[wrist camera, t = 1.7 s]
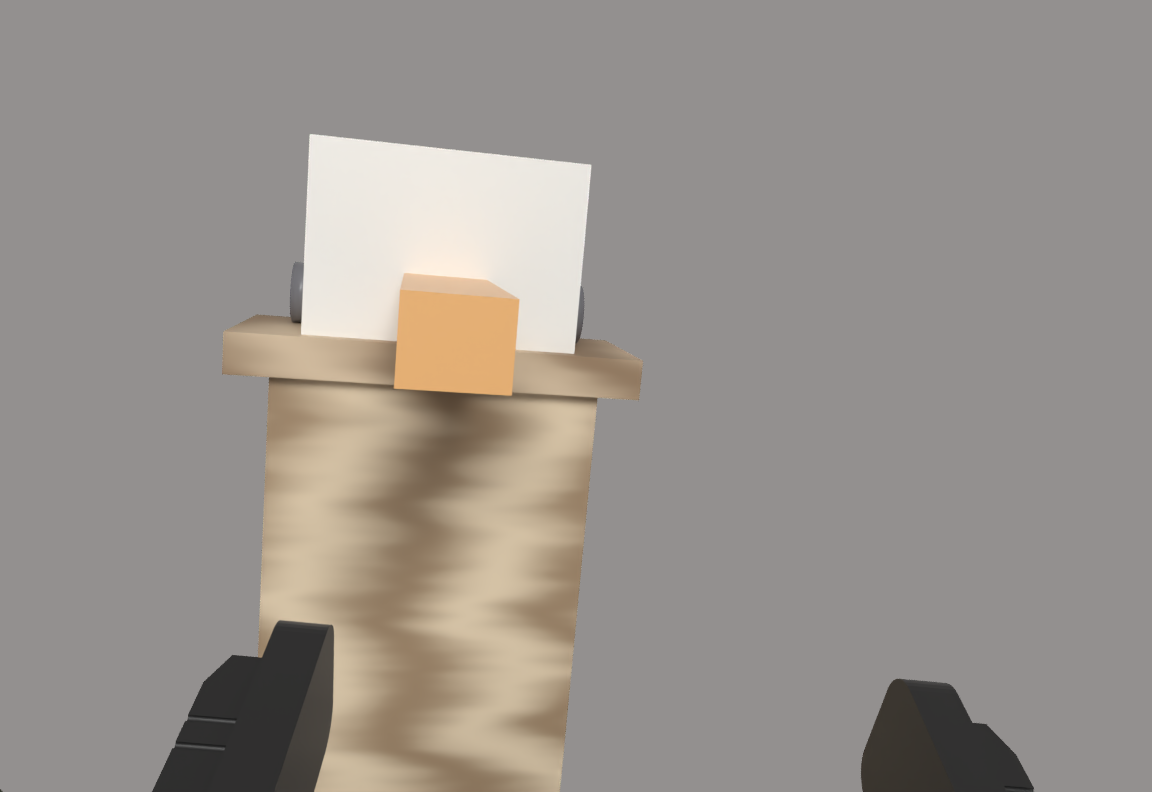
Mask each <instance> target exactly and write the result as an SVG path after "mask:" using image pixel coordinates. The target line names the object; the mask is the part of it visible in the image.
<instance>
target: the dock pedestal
mask: <svg viewBox="0 0 1152 792" xmlns="http://www.w3.org/2000/svg"><path fill="white" fill-rule="evenodd" d="M396 347H397V341H386V340H372V339H358V338H344V337H330V336H316V335H302V334H301V323H297V322H292V321H291V317H282V316H267V315H255V316H253V317H251V318H249V319H247V320H245V321H243V322H241V323H239V324H238V325H235V326H234V327H231V328H229V329H227V330H225V331H224V334H223V366H222V367H223V368H222V374H228V375H245V376H260V377H269V393H268V418H267V444H266V445H267V446H266V469H265V494H264V495H265V496H264V519H263V520H264V521H263V547H262V570H261V571H262V572H261V596H260V621H259V648H258V657H259V658H262V656H263V653H264V651H265V649H266V646H267V644H268V641H269V639H270V636H271V634H272V631H273V629H274V627H275V625H276V623H277V622H278V621H279V620H285V621H295V622H306V623H317V624H328V625H333V628H334V679H333V712H332V721H331V728H330V733H329V739H328V743H327V748H326V752H325V755H324V759H323V762H322V766H321V769H320V773H319V776H318V780H317V783H316V787H315V790H314V792H560V784H561V774H562V763H563V752H564V742H565V732H566V722H567V710H568V700H569V690H570V679H571V669H572V658H573V648H574V638H575V627H576V617H577V606H578V595H579V585H580V575H581V564H582V554H583V543H584V533H585V523H586V512H587V500H588V491H589V481H590V470H591V460H592V449H593V439H594V428H595V418H596V407H597V398H612V399H628V400H629V399H630V400H639V393H640V384H641V375H642V365H643V361H642V360H640V359H638V358H637V357H635V356H633V355H631V354H629V353H627V352H626V351H624V350H622V349H620V348H618V347H616V346H615V345H612V344H611V343H609V342H607V341H605V340H592V339H579V341H578V342H577V343H575V352H574V354H569V353H555V352H541V351H527V350H515V362H514V375H513V387H512V396H506V395H490V394H474V393H458V392H442V391H426V390H409V389H394V380H395V364H396Z"/></svg>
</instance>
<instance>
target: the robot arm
mask: <svg viewBox="0 0 1152 792" xmlns="http://www.w3.org/2000/svg"><path fill="white" fill-rule="evenodd" d="M333 679H334V628H333V625H328V624H317V623H306V622H295V621H285V620H279V621H278V622H277V623H276V625H275V627H274V629H273V631H272V634H271V636H270V639H269V641H268V644H267V646H266V649H265V651H264V653H263V656H262V658H259V657H248V656H237V655H232V656H231V657H230V658H229V659H228V660H227V661H226V662H225V663H224V664H223V665H221V666H220V668H218V669H217V670H216V671H215V672H214V673H213V674H212V675H211V676H210V677H208V678H207V679H206V681H204V682H203V685H202V687H201V689H200V691H199V693H198V695H197V697H196V699H195V701H194V704H193V706H192V708H191V710H190V712H189V714H188V720H187V721H185V723H184V725H183V727H182V729H181V732H180V733H179V736H178V738H177V740H176V745H175V748H173V749H172V750H171V753H170V755H169V757H168V759H167V761H166V763H165V765H164V768H163V770H162V772H161V774H160V776H159V778H158V780H157V782H156V785H155V787H154V789H153V791H152V792H314V790H315V787H316V783H317V780H318V776H319V773H320V769H321V766H322V762H323V759H324V755H325V752H326V748H327V743H328V739H329V733H330V728H331V721H332V712H333ZM861 780H862V789H863V792H1033V789H1034V787H1033V786H1032V784H1031V782H1030V780H1029V778H1028V776H1027V774H1026V773H1025V771H1024V769H1023V767H1022V765H1021V763H1020V761H1019V760H1018V758H1017V756H1016V754H1014V752H1013V751H1012V750H1011V749H1010V748H1009V747H1008V746H1007V745H1006V744H1005V743H1004V742H1003V741H1002V740H1001V739H1000V738H999V737H998V736H997V735H996V734H995V733H994V732H993V731H992V730H991V729H990V728H989V727H988V726H987V725H986V724H979V723H972V721H971V720H970V717H969V716H968V714H967V712H966V710H965V708H964V706H963V704H962V702H961V700H960V698H959V696H958V694H957V692H956V690H955V689H954V688H953V687H952V686H951V685H950V684H947V683H937V682H927V681H917V680H905V679H896V680H894V681H893V682H892V683H891V684H890V686H889V688H888V690H887V693H886V695H885V698H884V700H883V703H882V706H881V708H880V711H879V714H878V716H877V719H876V721H875V724H874V726H873V729H872V732H871V734H870V737H869V739H868V742H867V744H866V747H865V750H864V753H863V757H862V764H861Z"/></svg>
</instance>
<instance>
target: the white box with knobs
mask: <svg viewBox="0 0 1152 792" xmlns="http://www.w3.org/2000/svg"><path fill="white" fill-rule="evenodd" d="M590 175H591V165H587V164H578V163H569V162H560V161H551V160H542V159H532V158H523V157H514V156H505V155H496V154H487V153H478V152H468V151H460V150H451V149H441V148H431V147H423V146H414V145H405V144H395V143H386V142H377V141H368V140H359V139H350V138H341V137H331V136H322V135H314V134H310V143H309V165H308V187H307V210H306V233H305V254H304V263H301V262H295V263H294V266H293V271H292V278H291V289H290V315H291V321H292V322H297V323H301V334H302V335H316V336H330V337H344V338H358V339H372V340H386V341H397V347H396V364H395V380H394V389H409V390H426V391H442V392H458V393H474V394H490V395H506V396H512V387H513V375H514V362H515V350H527V351H541V352H555V353H569V354H574V352H575V343H577V342H578V341H579V339H580V335H581V331H582V324H583V317H584V293H583V288H582V287H581V274H582V263H583V252H584V242H585V231H586V218H587V208H588V198H589V186H590Z"/></svg>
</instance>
